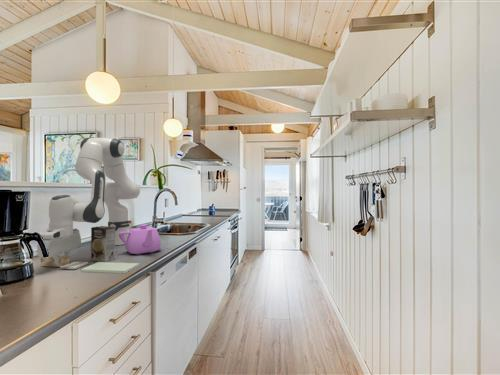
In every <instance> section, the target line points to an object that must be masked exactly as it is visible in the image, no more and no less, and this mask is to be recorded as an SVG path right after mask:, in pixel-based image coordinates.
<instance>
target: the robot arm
mask: <svg viewBox="0 0 500 375" xmlns="http://www.w3.org/2000/svg"><path fill="white" fill-rule="evenodd" d="M79 145H80V146H79V148H80V151H79V153H78V155H77V158H76V161H75V166H74V170H75V172H76V173H77V175H78V176H80V177H81V178H83V179H85V180H87V181H89V182H90V183H91V192H90V193H91V196H90V200H89V201H79V200H75V199H74V198H73V197H72V196H71V195H68V194H62V195H56V196H53V197H51V199H50V200H49V204H48V205H49V206H48V217H49V223H48V228H46V229H45V230H43V231H41V232H39V233H38V234H40V235H41V236H42V237H43V239H44V241H45V243H46V245H47V248H48V252H49V256H52V257H53V259H54V263H55V264H59V263H61V259H59V258H58V256H60V254H61V253H63V256H70V253H71V251H73V250H75V249H78V248H80V247H81V246H82V237H81V234H80V230H79V229H78V228H74V222H77V223H89V224H90V223H92V224H96V223H98V222H100V221H101V219H103V218H104V215H105V205H106V208H107V212H108V221H107V227H115V246H121V245H126V244H125V243H124V242H123V241H122V240H121V239H120V237H119V233H120V232H124V231H127V232H130V230H131V229H133V228H132V227H131V225H130V224H133V223H132V220H129V209H128V208H127V207H126V205H123V204H121V203H120V201H119V200H133V199H137V198H139V196H140V193H141V189H140V186H139V185H138V183H136V182H134V181H133V180H131V178H129V175H128V174H127V172H126V169H125V163H124V159H123V154H124V152H125V146H124V142H123V141H121V140H120V139H117V138H110V137H85V138H83V139H82V140H81V141H80V144H79ZM102 165H103V166H102ZM102 167H103V170H104V172H103V171H102ZM106 177H107V179H109V180H110V181H111V182H106ZM112 181H113V182H112ZM127 236H128V234H124V238H125V240H127ZM36 247H37V248H36V249H37V250H36V252H37V256H38V257H39V258H41V257H43V254H42V251H41V249H40V246H39V244H38V243H37V246H36Z"/></svg>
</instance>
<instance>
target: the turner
mask: <svg viewBox="0 0 500 375" xmlns="http://www.w3.org/2000/svg"><path fill="white" fill-rule="evenodd" d="M58 258H59V259H61V263H59V264H55V263H54V259H53V257H52V256H49V257H48V258H44V257H40V267H57V268H59V269H60V270H77V269H79V268H80V269H81V268H82V267H84V266H86V265H87V266H88V265H89V262H88V261H72V262H70V258H71V257H70V255H69V256H64V255H59V256H58Z"/></svg>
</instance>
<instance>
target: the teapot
mask: <svg viewBox="0 0 500 375" xmlns="http://www.w3.org/2000/svg"><path fill="white" fill-rule="evenodd" d="M124 234H128V236H127V240H125V238H124ZM119 237H120V239H121V240H122V241H123V242H124V243H125V244H124V245H125V248H126V250H127V252H128V253H129V254H132V255H134V254H135V255H138V256H139V255H142V254H147V253H151V254H152V253H155V252H157V251H159V250H160V248H161V247H162V244H161V243H162V241H161V237H160V234H159V232H158V229H157V228H156V227H154V226H148V224H145V223H144V224H140V225H139V227H134V228H132V229H131V230H130V232H127V231H124V232H120V233H119Z"/></svg>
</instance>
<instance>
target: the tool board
mask: <svg viewBox="0 0 500 375" xmlns="http://www.w3.org/2000/svg"><path fill="white" fill-rule="evenodd" d="M139 266H140V263H138V262H113V261H112V262H110V261H107V262H102V261H96V262H95V263H93V264H91V265H89V266H88V265H87V266H85V267H83V268H80V273H101V274H102V273H106V274H127V273H129V272H130V271H133V270H134V269H136V268H137V267H139ZM128 271H129V272H128ZM126 272H127V273H126Z"/></svg>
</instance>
